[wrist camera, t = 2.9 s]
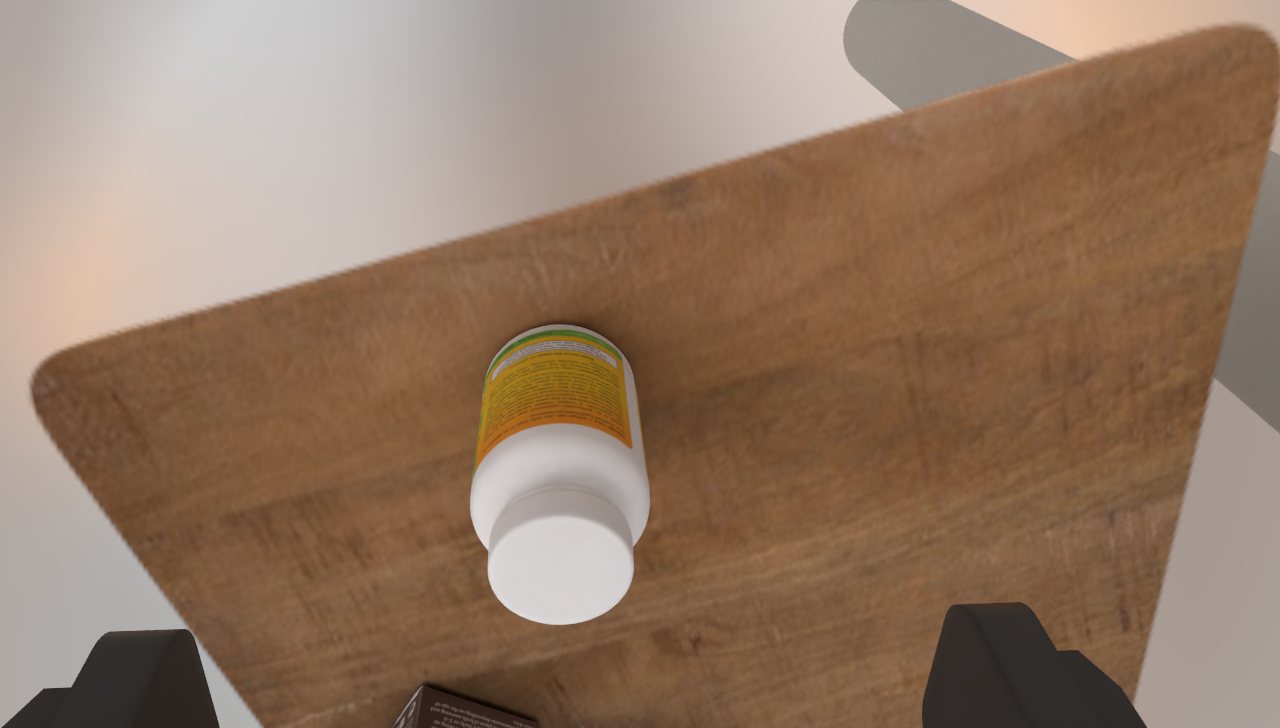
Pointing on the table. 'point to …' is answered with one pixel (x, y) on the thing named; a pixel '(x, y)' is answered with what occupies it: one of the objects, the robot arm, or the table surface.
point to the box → (453, 713)
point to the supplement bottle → (560, 474)
